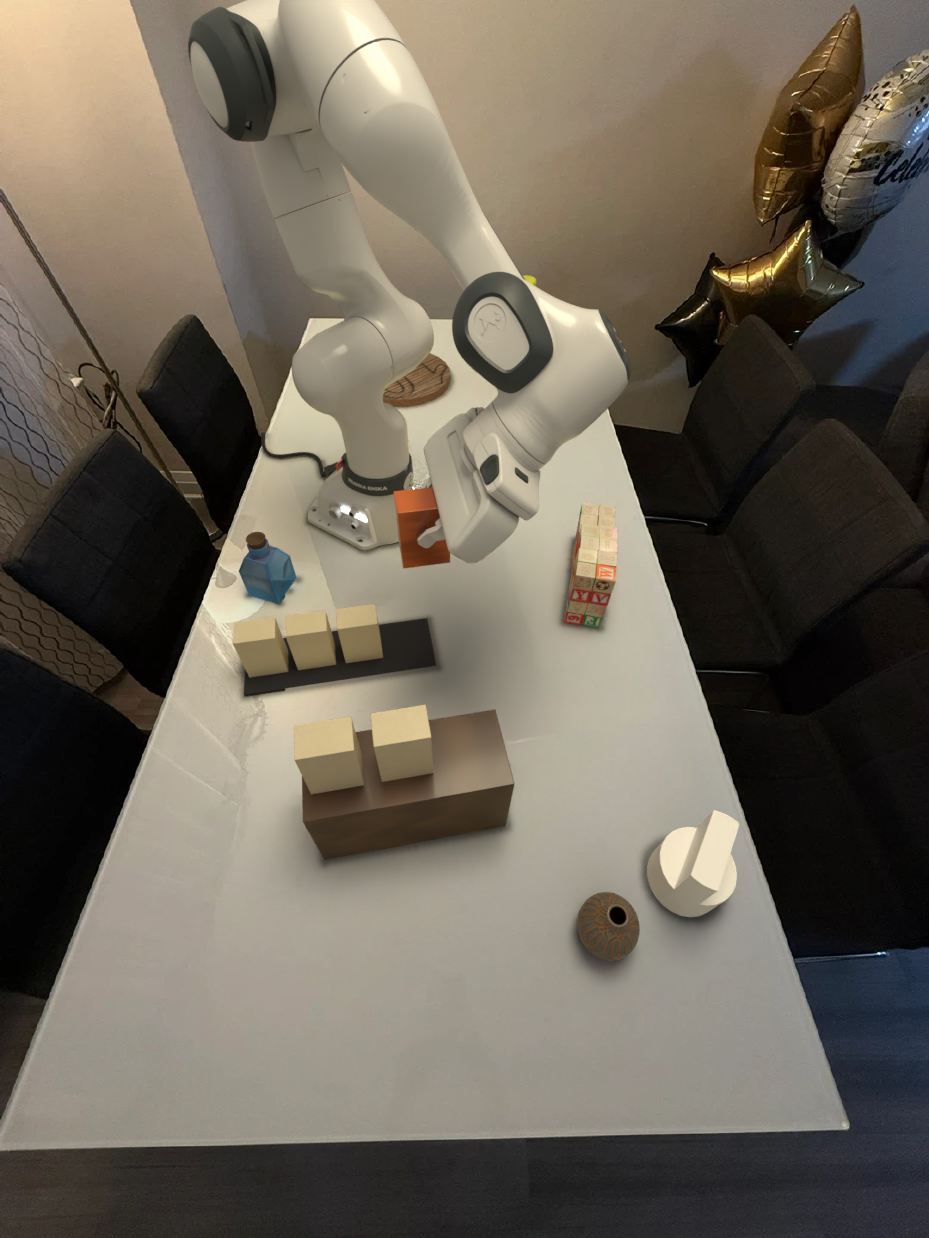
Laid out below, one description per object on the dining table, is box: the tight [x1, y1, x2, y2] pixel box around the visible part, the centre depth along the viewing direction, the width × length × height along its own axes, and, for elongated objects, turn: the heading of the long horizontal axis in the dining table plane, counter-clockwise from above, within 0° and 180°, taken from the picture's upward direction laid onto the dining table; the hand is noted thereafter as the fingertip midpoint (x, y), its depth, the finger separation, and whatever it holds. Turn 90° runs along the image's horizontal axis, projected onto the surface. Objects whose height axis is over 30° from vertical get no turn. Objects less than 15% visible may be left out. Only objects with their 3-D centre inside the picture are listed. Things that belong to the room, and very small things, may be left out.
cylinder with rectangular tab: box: [646, 809, 741, 918], centre depth 69 cm, size 9×9×12 cm
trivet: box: [383, 352, 451, 408], centre depth 148 cm, size 25×25×2 cm
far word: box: [232, 603, 437, 697], centre depth 91 cm, size 30×10×10 cm, turn 101°
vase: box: [576, 891, 641, 962], centre depth 66 cm, size 7×7×9 cm
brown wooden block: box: [293, 704, 515, 861], centre depth 70 cm, size 24×10×23 cm, turn 101°
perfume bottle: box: [238, 531, 298, 605], centre depth 99 cm, size 6×6×12 cm
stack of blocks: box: [563, 502, 619, 629], centre depth 101 cm, size 21×6×12 cm, turn 169°
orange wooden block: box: [394, 487, 451, 570], centre depth 71 cm, size 6×4×9 cm, turn 101°
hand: (417, 527), depth 70 cm, fingers closed on orange wooden block, 4 cm apart
